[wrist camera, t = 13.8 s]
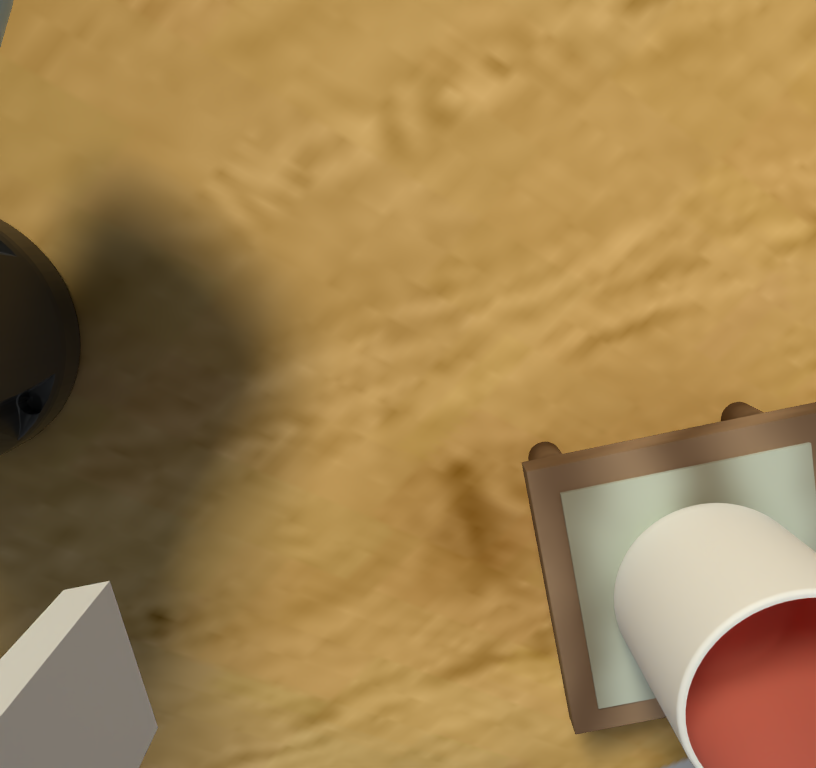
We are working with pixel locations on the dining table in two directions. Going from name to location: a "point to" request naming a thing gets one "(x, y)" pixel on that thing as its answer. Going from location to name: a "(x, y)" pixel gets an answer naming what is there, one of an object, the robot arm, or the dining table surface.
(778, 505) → the footstool
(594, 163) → the dining table surface
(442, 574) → the dining table surface
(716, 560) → the cup
